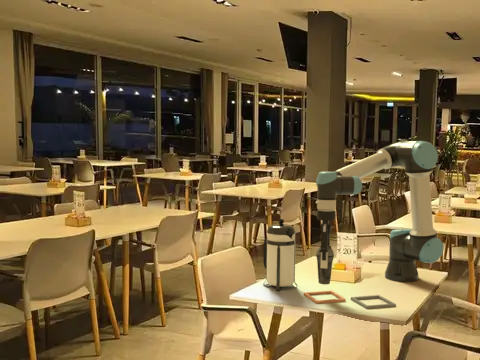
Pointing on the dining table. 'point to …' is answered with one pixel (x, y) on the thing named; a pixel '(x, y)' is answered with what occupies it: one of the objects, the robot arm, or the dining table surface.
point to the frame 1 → (324, 300)
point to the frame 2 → (390, 304)
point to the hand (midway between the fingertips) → (324, 265)
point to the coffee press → (280, 255)
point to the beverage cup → (325, 273)
